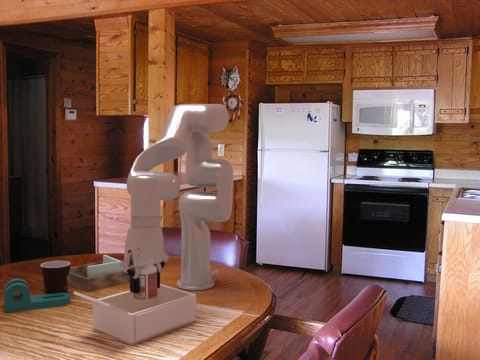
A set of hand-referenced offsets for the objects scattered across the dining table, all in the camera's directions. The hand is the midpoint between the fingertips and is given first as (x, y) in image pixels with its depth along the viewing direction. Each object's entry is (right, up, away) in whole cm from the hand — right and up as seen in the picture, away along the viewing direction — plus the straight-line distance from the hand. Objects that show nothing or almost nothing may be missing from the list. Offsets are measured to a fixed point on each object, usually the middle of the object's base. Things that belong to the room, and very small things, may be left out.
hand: (145, 289), depth 138 cm
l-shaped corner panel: (-23, -6, +40) cm, 47 cm away
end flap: (-7, -3, -8) cm, 11 cm away
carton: (0, -10, +1) cm, 10 cm away
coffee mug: (-31, -7, +26) cm, 41 cm away
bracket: (-34, -8, +16) cm, 38 cm away
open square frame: (-24, -6, +40) cm, 48 cm away
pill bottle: (0, -3, 0) cm, 3 cm away
